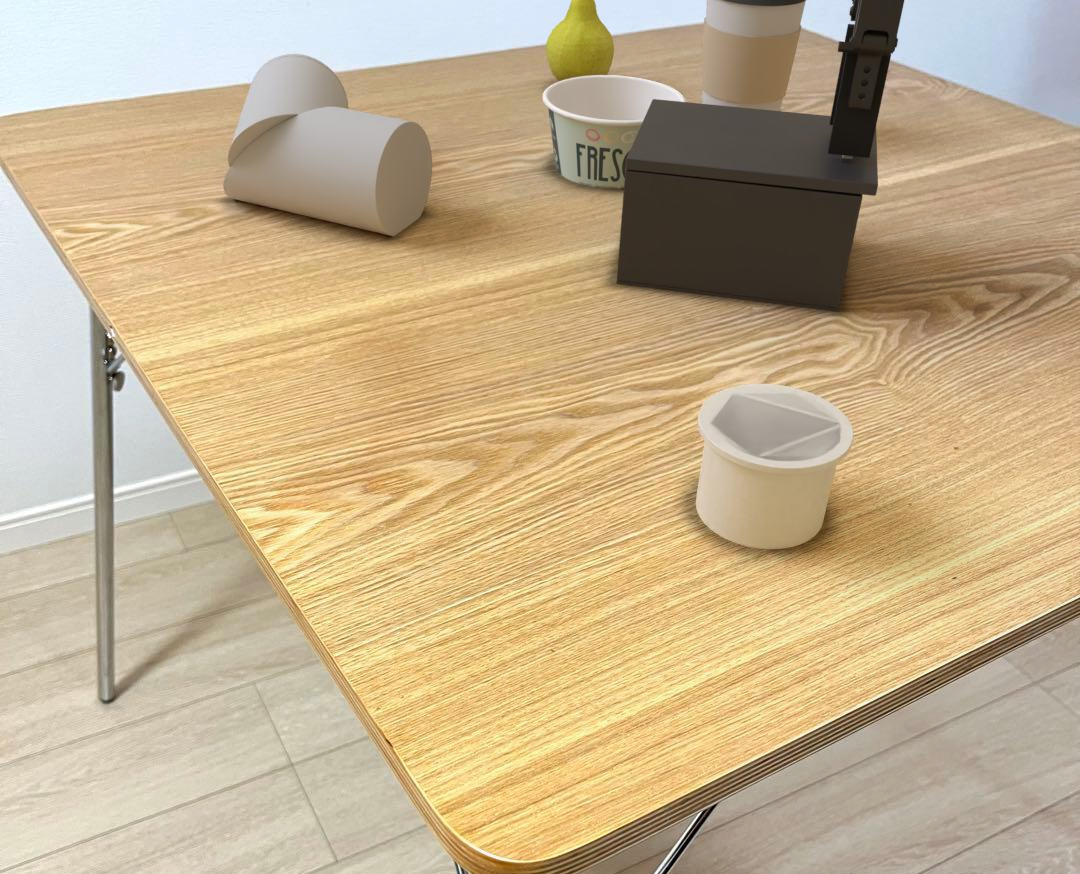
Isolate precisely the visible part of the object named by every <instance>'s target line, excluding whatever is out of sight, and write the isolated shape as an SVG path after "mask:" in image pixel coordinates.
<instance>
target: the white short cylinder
mask: <svg viewBox="0 0 1080 874" xmlns="http://www.w3.org/2000/svg"><path fill="white" fill-rule="evenodd" d="M697 429H698V432H699V434H700V437H701V438H702V440H703V442H704V445H703V449H702V456H701V462H700V463H701V464H700V471H699V477H698V483H697V491H696V497H695V508H696V509H695V510H696V511H697V515H698V516H699V518H700V520H701V521H702V522H703V523H704V525H706V527H707V528H709V530H711V531H712V532H713V533H715V534H716V535H717V536H720V537H721V538H723V539H725V540H727V541H729V542H732V543H734V544H736V545H737V544H738V545H741V546H744V547H748V548H753V549H761V550H783V549H789V548H793V547H797V546H800V545H802V544H805V543H807V542H808V541H810V540H812V539H813V538H814V537H816V535H817V534H819V532H820V530H821V529H822V526H823V524H824V519H825V516H826V511H827V506H828V503H829V499H830V494H831V491H832V486H833V482H834V479H835V478H834V477H835V474H836V469H837V465H838V464H839V463H840V462H842V461H843V460H844V459H845V458H846V457H847V456H848V454H849V453H850V451H851V449H852V447H853V442H854V436H855V434H854V428H853V425H852V423H851V421H850V419H849V418H848V417H847V415H846V414H845V413H844V412H843V411H842V410H841V409H840V408H839V407H838V406H836V405H835V404H833V403H832V402H831V401H828V400H827V399H825V398H823V397H822V396H819V395H817V394H815V393H812V392H809V391H807V390H803V389H801V388H797V387H792V386H790V385H789V386H788V385H782V384H776V383H775V384H773V383H748V384H747V383H746V384H739V385H734V386H731V387H727V388H724V389H722V390H720V391H717V392H715V393H713V394H712V395H711V396H709V397H708V398H707V399H706V400H705V401H704V402H703V403H702V405H701V407H700V408H699V412H698V415H697Z"/></svg>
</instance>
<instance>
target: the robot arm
mask: <svg viewBox="0 0 1080 874" xmlns="http://www.w3.org/2000/svg"><path fill="white" fill-rule="evenodd" d="M851 2H852V6H850V8H849V16H850V22H854V23H847V27H846V33H845V37H844V38H845V39H844V41H840V40H839V41H838V46H837V47H838V48H837V52H838V53H842V55H841V59H840V65H839V71H838V75H837V80H836V86H835V92H834V98H833V102H832V107H831V113H830V116H831V118H830V125H833V126H832V132H831V137H830V142H829V148H828V154H836V155H846V156H855V157H865V158H869V157H870V152H871V148H872V143H873V138H874V133H875V129H876V130H877V125H878V124H877V123H878V120H879V114H880V109H881V104H882V100H883V95H884V91H885V87H886V80H887V76H888V72H889V67H890V62H891V57H892V55H893V53H894V52H895V51H896V48H897V47H898V43H899V38H898V32H899V29H900V24H901V19H902V13H903V9H904V4H905V0H851Z"/></svg>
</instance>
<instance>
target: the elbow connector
mask: <svg viewBox="0 0 1080 874" xmlns="http://www.w3.org/2000/svg"><path fill="white" fill-rule="evenodd" d="M227 162H228V163H227V164H228V169H227V171H226V173H225V175H224V177H223V182H222V188H223V192H224V193H225V195H226V196H227V197H228V198H230V199H232V200H235V201H240V202H244V203H248V204H249V203H250V204H253V205H257V206H262V207H265V208H269V209H270V208H271V209H273V210H279V211H283V212H287V213H292V214H295V215H301V216H305V217H309V218H313V219H317V220H322V221H325V222H330V223H335V224H339V225H342V226H347V227H352V228H356V229H360V230H364V231H369V232H372V233H377V234H381V235H385V236H386V235H387V236H389V237H395V236H397V235H398V234H399V233H401V232H402V231H404V230H405V229H406V228H408V227H409V226H410V225H412V224H413V223H415V222H416V221H417V220H419V219H421V217H422V214H423V212H424V210H425V207H426V204H427V201H428V198H429V194H430V190H431V186H432V185H431V184H432V177H433V176H432V175H433V156H432V149H431V144H430V139H429V137H428V135H427V133H426V131H425V129H424V128H423V127H422V126H421V125H420V124H419V123H418V122H415V121H412V120H407V119H401V118H396V117H391V116H386V115H383V114H377V113H372V112H367V111H361V110H357V109H350V108H349V100H348V96H347V93H346V89H345V87H344V85H343V83H342V81H341V80H340V78H339V77H338V75H337V74H336V73H335V72H334V71H333V70H332V69H331V68H330V67H329V66H328V65H327V64H325V63H324V62H322V61H321V60H318V59H317V58H315V57H313V56H309V55H306V54H300V53H286V54H282V55H278V56H275V57H273V58H272V59H270V60H268V61H267V62H265V63H264V64H263V65H262V66H261V67H259V69H258V70H257V72H256V73H255V74H254V77H253V78H252V81H251V83H250V86H249V89H248V92H247V95H246V98H245V101H244V105H243V108H242V110H241V113H240V115H239V119H238V122H237V125H236V128H235V131H234V134H233V138H232V140H231V143H230V146H229V150H228V153H227Z"/></svg>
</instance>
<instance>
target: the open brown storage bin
mask: <svg viewBox="0 0 1080 874" xmlns="http://www.w3.org/2000/svg"><path fill="white" fill-rule="evenodd" d="M862 202H863V194H853V193H844V192H835V191H825V190H816V189H806V188H797V187H787V186H778V185H768V184H759V183H750V182H740V181H731V180H721V179H712V178H702V177H693V176H683V175H674V174H665V173H655V172H646V171H636V170H627V169H626V171H625V181H624V188H623V195H622V207H621V219H620V234H619V245H618V246H619V247H618V257H617V270H616V271H617V272H616V281H615V282H616V283H615V284H616V285H622V286H628V287H629V286H630V287H637V288H646V289H652V290H653V289H654V290H661V291H669V292H677V293H684V294H691V295H692V294H694V295H701V296H708V297H716V298H724V299H732V300H739V301H749V302H755V303H756V302H757V303H764V304H772V305H779V306H788V307H796V308H802V309H803V308H805V309H810V310H818V311H826V312H827V311H828V312H836V313H838V312H839V308H840V304H841V299H842V294H843V289H844V285H845V281H846V276H847V272H848V271H847V270H848V267H849V262H850V257H851V252H852V249H853V244H854V238H855V233H856V229H857V224H858V220H859V216H860V212H861V211H860V210H861V208H862V207H861V206H862Z"/></svg>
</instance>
